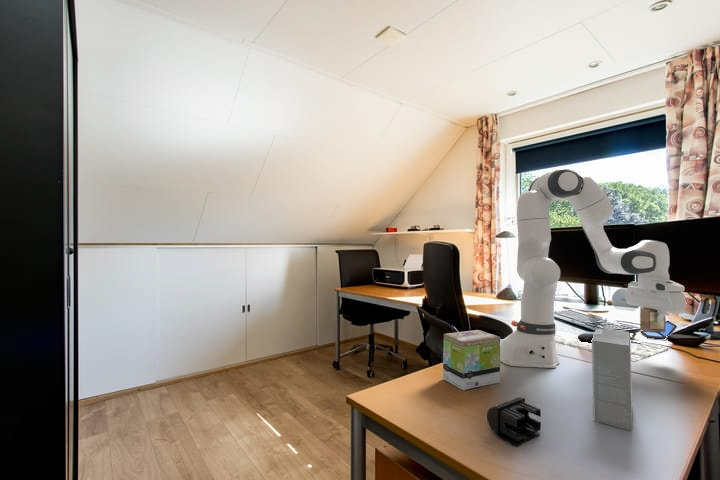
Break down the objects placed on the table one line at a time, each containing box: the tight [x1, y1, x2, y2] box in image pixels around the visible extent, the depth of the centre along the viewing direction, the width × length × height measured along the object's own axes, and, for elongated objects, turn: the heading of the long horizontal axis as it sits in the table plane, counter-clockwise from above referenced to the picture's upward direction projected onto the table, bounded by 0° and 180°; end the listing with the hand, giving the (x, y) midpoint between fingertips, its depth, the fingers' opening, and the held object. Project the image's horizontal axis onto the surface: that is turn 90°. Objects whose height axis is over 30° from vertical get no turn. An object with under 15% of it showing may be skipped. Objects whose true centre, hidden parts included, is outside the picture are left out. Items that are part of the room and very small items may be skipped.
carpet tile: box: [555, 327, 669, 363], centre depth 146 cm, size 39×30×2 cm
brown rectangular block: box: [639, 309, 667, 332], centre depth 122 cm, size 7×3×8 cm, turn 94°
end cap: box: [486, 396, 542, 448], centre depth 75 cm, size 10×7×7 cm
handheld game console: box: [639, 320, 678, 340], centre depth 156 cm, size 12×11×7 cm
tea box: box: [442, 329, 501, 391], centre depth 104 cm, size 15×10×15 cm, turn 115°
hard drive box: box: [591, 327, 633, 432], centre depth 84 cm, size 16×8×20 cm, turn 141°
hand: (652, 321), depth 122 cm, fingers closed on brown rectangular block, 3 cm apart
